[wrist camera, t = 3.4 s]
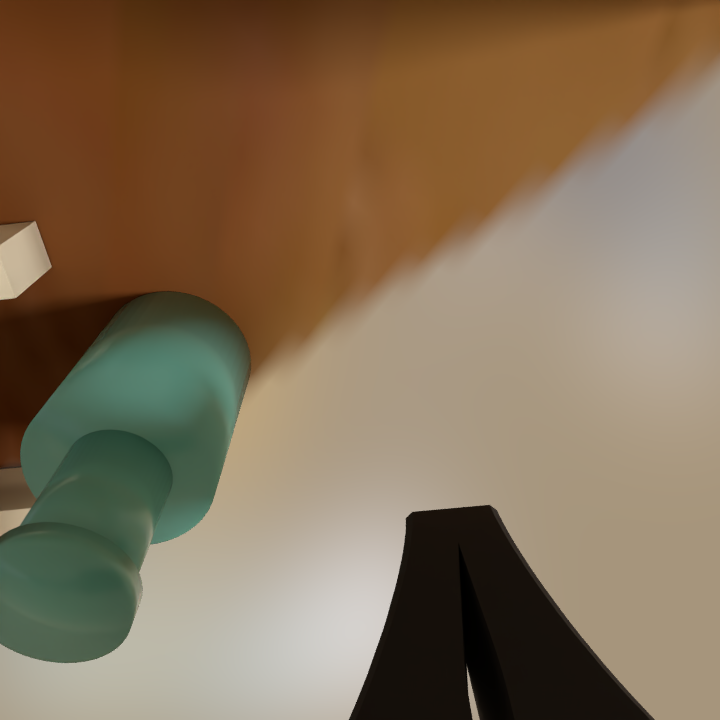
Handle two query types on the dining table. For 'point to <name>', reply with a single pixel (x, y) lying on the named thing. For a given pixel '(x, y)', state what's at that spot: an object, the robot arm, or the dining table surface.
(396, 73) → the dining table surface
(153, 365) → the bottle
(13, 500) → the cradle
